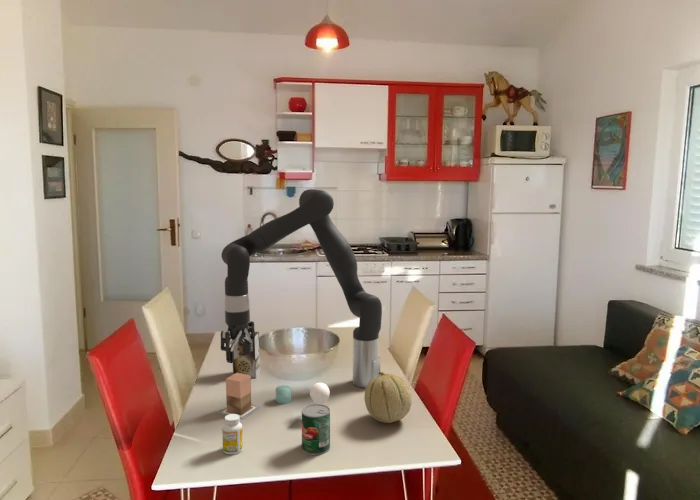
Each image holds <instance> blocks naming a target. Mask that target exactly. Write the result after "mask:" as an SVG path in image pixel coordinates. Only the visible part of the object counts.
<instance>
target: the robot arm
mask: <svg viewBox="0 0 700 500" xmlns="http://www.w3.org/2000/svg"><path fill="white" fill-rule="evenodd" d="M298 206H299V207H297V208H295V209H293V210H292V211H289V212H288V213H286V214H284V215H282V216H279V217H276V218H274V219H272V220H270V221H267V222H266V223H264V224H262V225H261V226H259V227H258V228H256V229H254V230H253V231H251V232H250V233H248V234H247V235H244V236H242V237H240V238H237V239H235V240H234V241H232V242H229V243H228V244H227V245H226V246H225V247H223V249H222V250H221V260H222V262H223V263H224V264H226V265H227V266H226V267H227V270H226V271H227V276H226V277H225V279H224V319H225V320H224V321H225V324H226V325H227V330H225V331H224V330H221V332H220V350H221V351H224V352H225V359H226V363H229V364H233V362H234V351H233V349H234V347H235V345H237V342H238V341H240V340H241V339H242V340H243V341H244V343H243V350H244V354H247V355H249V354H250V351H251V344H250V343H251V342H252V339H255V332H256V331H255V321H252V320H251V319H250V318H251V317H250V316H251V315H250V314H251V313H250V311H251V310H250V297H249V283H248V281H249V280H248V277H249V274H250V272H249V271H250V265H251V263H250V261H251V259H250V257H251V256H253V255H254V254H260V253H264V252H265V251H266V250H269V248H271V247H273V246H274V245H275V244H277V243H278V242H280V241H282V240H283V239H285V238H286V237H287V236H289V235H291V234H293V233H295V232H296V231H298V230H300V229H302V228H304V227H306V226H308V225H309V226H310V227H311V229H312V230H313V232H314V235H315V236H316V239H317V241H318V243H319V246H320V248H321V250H322V251H323V253H324V256H325V258H326V260H327V263H328V265H329V267H330V268H331V270H332V272H333V274H334V276H335V278H336V280H337V281H338V284H339V285H340V288H341V290H342V292H343V295H344V298H345V300H346V304H347V306H348V309H349V311H350V312H351V313H352V315H353V316H354V317H357V318H359V323H358V324H359V326H358V327H355V328H354V329H353V331H352V384H353V385H354V386H356V387H358V388H365V389H366V387H367V385H368V383H369V382H370V381H371V380H372V379H373V378H375V377H377V376H379V375H381V374H379V372H381V356H379V341H380V339H379V335H380V332H381V329H382V315H383V308H382V301H381V299H380V298H379V297H378V296H376V295H374V294H370V293H368V292H367V291H366V290H365V288H363V286H362V284H361V282H360V280H359V277H358V262H357V258H356V255H355V253H354V251H353V249H352V247H351V245H350V243H349V241H348V240H347V239H346V237H345V236H344V235H343V234H342V233H341V232H340V230H339V229H338V228H337V226H336V225H335V224H334V222H333V221H332V219H331V217H330V214H331V213H332V211H333V209H334V206H335V203H334V198H333V196H332V195H331V194H330V193H329V192H328V191H326V190H322V189H315V188H314V189H312V188H310V189H306V190H304V191H303V192H301V194H300V195H299V199H298ZM250 332H251V335H250ZM232 340H233V341H232Z"/></svg>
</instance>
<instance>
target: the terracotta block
mask: <svg viewBox="0 0 700 500" xmlns="http://www.w3.org/2000/svg"><path fill="white" fill-rule="evenodd" d="M250 392H251V393H252V378H251V375H246V374H241V373H235V374H233V373H232V374H231V375H230V376H228V377H226V378H225V394H226V395H228V396H232V397H237V398H242V397H244V396H245V395H247V394H248V393H250ZM226 395H225V396H226Z"/></svg>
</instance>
